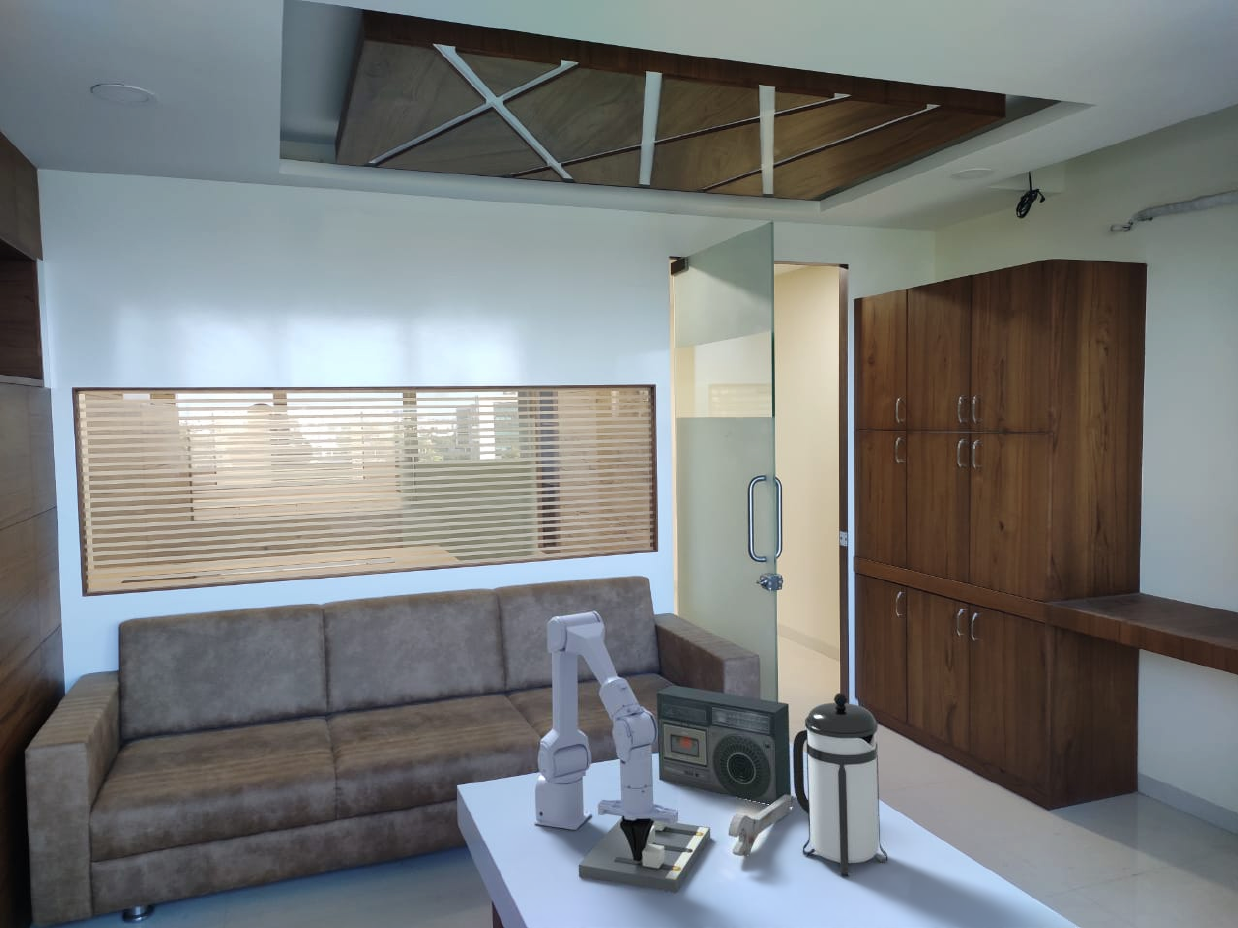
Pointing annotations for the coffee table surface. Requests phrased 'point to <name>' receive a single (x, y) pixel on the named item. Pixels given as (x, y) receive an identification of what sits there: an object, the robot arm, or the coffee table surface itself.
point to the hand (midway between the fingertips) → (638, 858)
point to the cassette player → (724, 743)
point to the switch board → (619, 866)
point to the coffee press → (840, 782)
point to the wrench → (757, 824)
